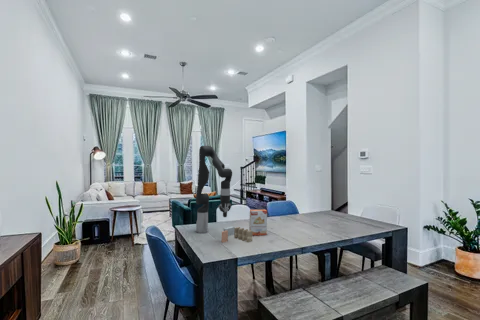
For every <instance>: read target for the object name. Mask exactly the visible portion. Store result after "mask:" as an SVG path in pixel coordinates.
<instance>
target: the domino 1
mask: <svg viewBox="0 0 480 320" xmlns="http://www.w3.org/2000/svg"><path fill="white" fill-rule="evenodd" d="M228 241H229V236H228V231H227V230H226V231H223V230H222V231H221V243H226V242H228Z"/></svg>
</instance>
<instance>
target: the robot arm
mask: <svg viewBox="0 0 480 320" xmlns="http://www.w3.org/2000/svg"><path fill="white" fill-rule="evenodd" d="M198 152H199V153H198V161H199V162H198V174H197V187H196V188H197V189H196V194H195V203H196V205H201V207H198V208H197V210H196V211H197V220H196V223H195V224H196V226H195V228H196V229H195V231H196V233H198V234H205V233H208V231H209V207H210V205H209V204H210V203H209V202H210V196H209V194H208V193H206V192H205V193H202V192H203V189H204V187H205V186H206V185H207V184H208V182H209V180H210V179H209V178H210V169H209V168H208V165H207V163H206V157H208V158H209V157H210V158H211V160H212V161H211V162H212V166H213V167H214V169H216V171H217V174H218V176H219V177H220V178H222V179H223V178H224V180H222V181H221V182H220V192H219V193H220V195H219V196H220V197H219V199H220V203H219V205H218V206H217V208H218V209H219V210H220V212H221V213H222V216H223V218H227V217H228V212H229V211H230V210H231V208H232V206H233V204H232V203H231V181H232V178H233V177H232V176H233V171H232V169H231V168H226V167H225V166H226V165H225V164H224V163H223V161H222V160H220V158H219V156H218V154H217V153H216V150H215V149H214V148H213V146H211V145H201V146H200V147H199V150H198Z"/></svg>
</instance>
